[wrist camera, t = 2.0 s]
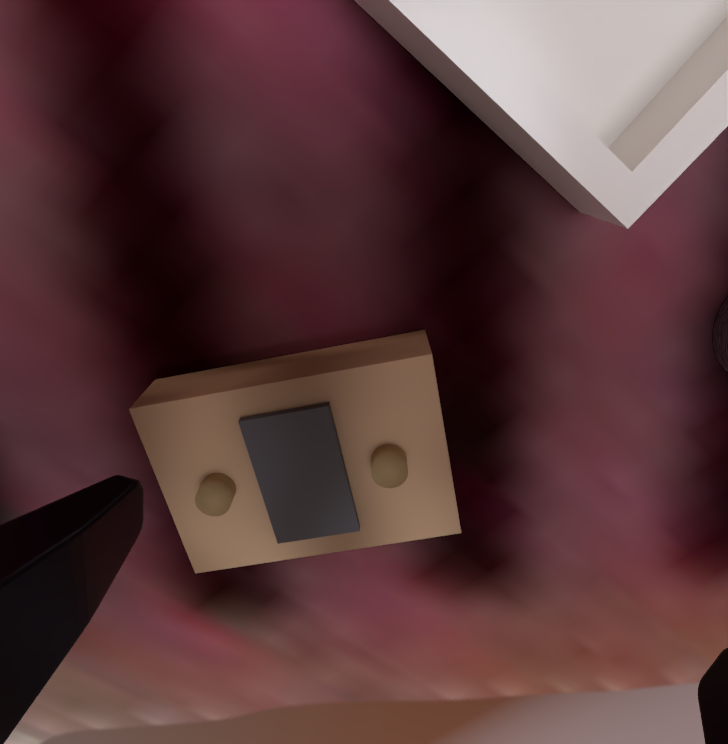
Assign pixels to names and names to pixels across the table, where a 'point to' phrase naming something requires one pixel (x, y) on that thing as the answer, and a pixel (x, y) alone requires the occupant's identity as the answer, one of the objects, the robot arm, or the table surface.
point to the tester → (302, 453)
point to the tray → (581, 85)
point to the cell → (721, 335)
